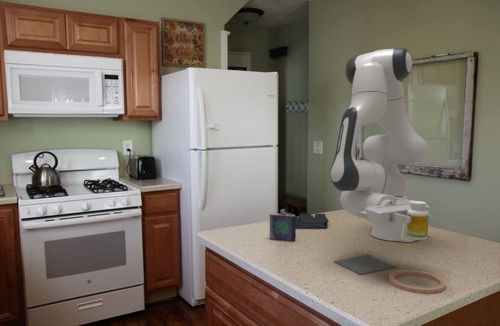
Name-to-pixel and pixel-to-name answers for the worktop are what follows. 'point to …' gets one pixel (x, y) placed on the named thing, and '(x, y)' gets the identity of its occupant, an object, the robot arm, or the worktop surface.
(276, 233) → the flask
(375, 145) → the robot arm
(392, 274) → the segmented terracotta ring
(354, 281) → the worktop surface
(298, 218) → the dark slate chunk
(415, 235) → the supplement bottle
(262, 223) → the worktop surface
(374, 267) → the mat
